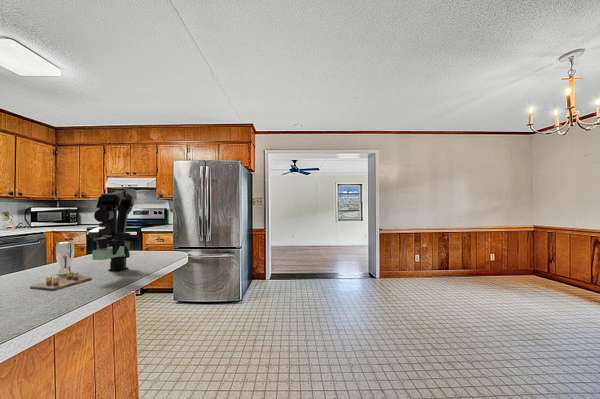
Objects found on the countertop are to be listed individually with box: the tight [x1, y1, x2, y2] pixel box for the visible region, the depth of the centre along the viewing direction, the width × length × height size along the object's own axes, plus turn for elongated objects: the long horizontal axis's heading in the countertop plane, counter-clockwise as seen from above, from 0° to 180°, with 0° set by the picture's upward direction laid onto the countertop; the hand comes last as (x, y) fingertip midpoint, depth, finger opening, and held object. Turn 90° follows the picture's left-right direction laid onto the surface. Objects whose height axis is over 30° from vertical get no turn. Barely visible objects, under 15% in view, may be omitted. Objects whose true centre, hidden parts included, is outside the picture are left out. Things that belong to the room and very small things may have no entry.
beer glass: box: [55, 240, 75, 276], centre depth 135 cm, size 7×7×15 cm
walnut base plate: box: [29, 271, 93, 292], centre depth 119 cm, size 16×12×4 cm
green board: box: [91, 246, 124, 261], centre depth 128 cm, size 12×6×4 cm, turn 173°
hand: (109, 254), depth 128 cm, fingers closed on green board, 6 cm apart
